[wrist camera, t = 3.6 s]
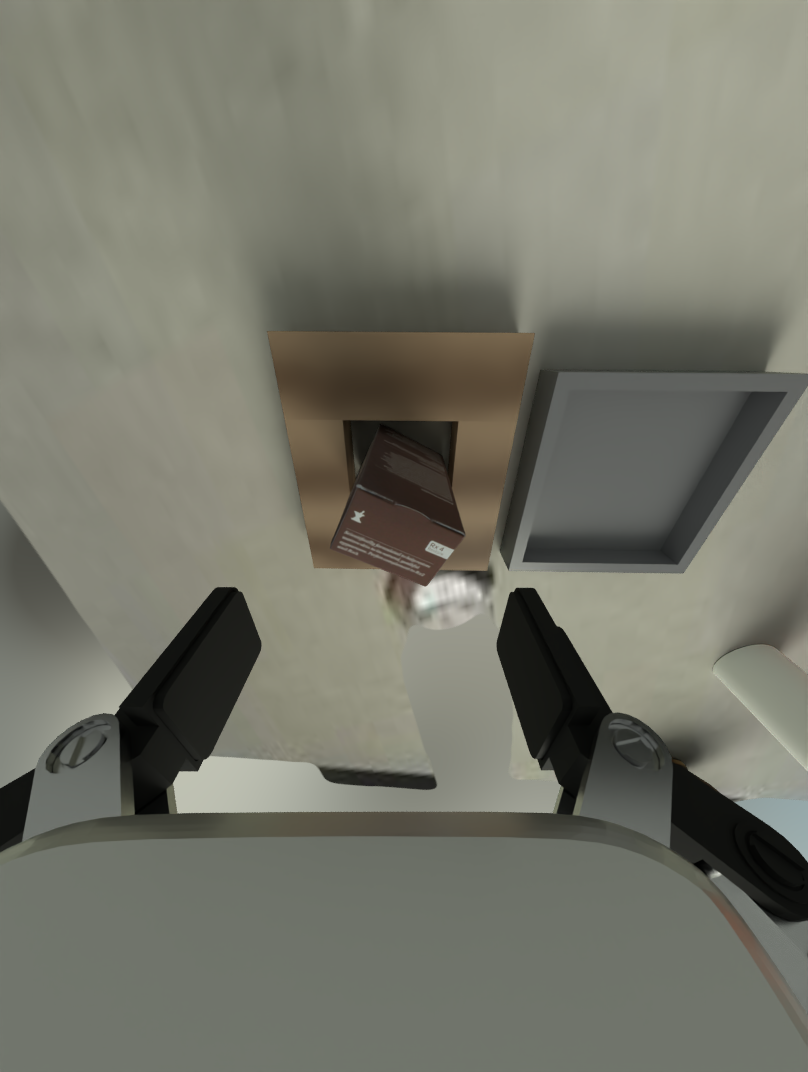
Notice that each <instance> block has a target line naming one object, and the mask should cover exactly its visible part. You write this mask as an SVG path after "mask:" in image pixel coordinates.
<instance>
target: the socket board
mask: <svg viewBox="0 0 808 1072" xmlns="http://www.w3.org/2000/svg"><path fill="white" fill-rule="evenodd" d="M267 333H268V338H269V343H270V348H271V353H272V358H273V363H274V368H275V373H276V378H277V383H278V388H279V393H280V398H281V403H282V408H283V413H284V418H285V423H286V429H287V434H288V439H289V444H290V449H291V454H292V459H293V464H294V469H295V474H296V479H297V484H298V489H299V494H300V499H301V504H302V509H303V514H304V519H305V524H306V529H307V534H308V539H309V544H310V549H311V554H312V559H313V565H314V568H343V569H380V568H377V567H375V566H372V565H369V564H367V563H364V562H362V561H359V560H357V559H354V558H352V557H349V556H346V555H344V554H341V553H339V552H336V551H334V550H331V549H330V545H331V541H332V538H333V536H334V534H335V531H336V529H337V526H338V524H339V521H340V519H341V516H342V514H343V511H344V509H345V506H346V503H347V500H348V498H349V495H350V493H351V490H352V488H353V486H354V483H355V480H356V477H355V466H354V454H353V442H352V431H351V420H383V421H452V431H451V442H450V453H449V464H448V477H449V480H450V484H451V487H452V490H453V494H454V497H455V501H456V504H457V508H458V511H459V514H460V518H461V521H462V525H463V528H464V531H465V534H466V537H465V538H464V539H463V540H462V542H461V543H460V544H459V545H458V546H457V548H456V549H455V550H454V551H453V553H452V554H451V555H450V556H449V558H448V559H447V560H446V562H445V563H444V564H443V566H442V567H441V568H440V570H482V571H487V568H488V563H489V558H490V553H491V548H492V543H493V538H494V533H495V528H496V524H497V519H498V514H499V509H500V504H501V499H502V494H503V489H504V484H505V479H506V474H507V469H508V464H509V459H510V454H511V449H512V444H513V439H514V434H515V429H516V424H517V419H518V414H519V409H520V405H521V400H522V395H523V390H524V385H525V380H526V375H527V370H528V365H529V360H530V355H531V350H532V345H533V340H534V335H535V333H454V332H322V331H267Z"/></svg>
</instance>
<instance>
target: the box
mask: <svg viewBox="0 0 808 1072" xmlns="http://www.w3.org/2000/svg"><path fill="white" fill-rule="evenodd" d="M465 537H466V534H465V531H464V528H463V525H462V521H461V518H460V514H459V511H458V508H457V504H456V501H455V497H454V494H453V490H452V487H451V484H450V480H449V477H448V473H447V470H446V467H445V463H444V460H443V457H442V456H441V455H439V454H438V453H436V452H434V451H432V450H430V449H429V448H427V447H425V446H423V445H421V444H419V443H417V442H415V441H413V440H412V439H410V438H408V437H406V436H404V435H402V434H400V433H398V432H396V431H394V430H392V429H390V428H388V427H386V426H384V425H382V424H380V426H379V428H378V430H377V431H376V434H375V437H374V439H373V441H372V443H371V445H370V448H369V450H368V452H367V455H366V457H365V459H364V461H363V463H362V465H361V467H360V470H359V473H358V475H357V478H356V480H355V483H354V486H353V488H352V490H351V493H350V495H349V498H348V500H347V503H346V506H345V509H344V511H343V514H342V516H341V519H340V521H339V524H338V526H337V529H336V531H335V534H334V536H333V538H332V541H331V545H330V549H331V550H334V551H336V552H339V553H341V554H344V555H346V556H349V557H352V558H354V559H357V560H359V561H362V562H364V563H367V564H369V565H372V566H375V567H377V568H380V569H382V570H385V571H387V572H390V573H393V574H395V575H398V576H400V577H403V578H405V579H408V580H411V581H413V582H416V583H418V584H420V585H423V586H427V585H428V584H429V583H430V581H431V580H432V579H433V578H434V576H435V575H436V574H437V572H438V571H439V570H440V568H441V567H442V566H443V564H444V563H445V562H446V560H447V559H448V558H449V556H450V555H451V554H452V553H453V551H454V550H455V549H456V548H457V546H458V545H459V544H460V543H461V542H462V540H463V539H464V538H465Z"/></svg>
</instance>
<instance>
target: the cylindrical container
mask: <svg viewBox="0 0 808 1072" xmlns="http://www.w3.org/2000/svg"><path fill="white" fill-rule="evenodd" d="M713 673H714V674H715V675H716V676H717V677H718V678H719V679H720V680H721V681H722V682H723V683H724V684H725V685H726V687H727V688H728V689H729V690H730V691H731V692H732V693H733V694H734V695H735V696H736V697H737V698H738V699H739V700H740V701H741V702H742V703H743V704H744V705H745V706H746V708H747V709H748V710H749V711H750V712H751V713H752V714H753V715H754V716H755V717H756V718H757V719H758V720H759V721H760V722H761V723H762V724H763V725H764V726H765V727H766V728H767V729H768V731H769V732H770V733H771V734H772V735H773V736H774V737H775V738H776V739H777V740H778V741H779V742H780V743H781V744H782V745H783V746H784V747H785V748H786V749H787V750H788V751H789V752H790V753H791V754H792V756H793V757H794V758H795V759H796V760H797V761H798V762H799V763H800V764H801V765H802V766H803V767H804V768H805V769H806V770H807V771H808V674H807V673H806V672H805V671H803V670H802V669H801V668H800V667H798V666H797V665H796V664H795V663H793V662H792V661H791V660H790V659H789V658H787V657H786V656H785V655H784V654H782V653H781V652H780V651H779V650H777V649H776V648H775V647H773V646H770V645H764V644H758V645H750V646H746V647H742V648H739V649H736V650H734V651H732V652H730V653H728V654H726V655H724V656H723V657H722V658H720V659H719V660H718V661H717V662H716V663H715V664H714V667H713Z"/></svg>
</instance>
